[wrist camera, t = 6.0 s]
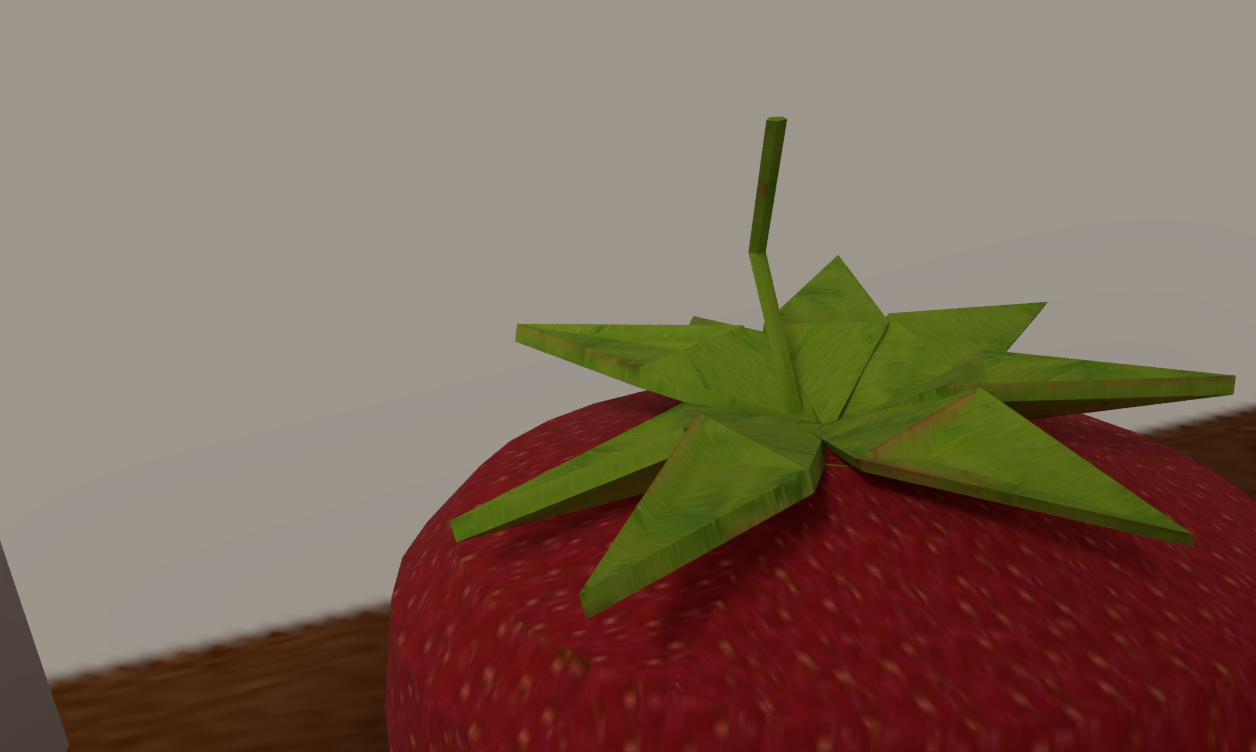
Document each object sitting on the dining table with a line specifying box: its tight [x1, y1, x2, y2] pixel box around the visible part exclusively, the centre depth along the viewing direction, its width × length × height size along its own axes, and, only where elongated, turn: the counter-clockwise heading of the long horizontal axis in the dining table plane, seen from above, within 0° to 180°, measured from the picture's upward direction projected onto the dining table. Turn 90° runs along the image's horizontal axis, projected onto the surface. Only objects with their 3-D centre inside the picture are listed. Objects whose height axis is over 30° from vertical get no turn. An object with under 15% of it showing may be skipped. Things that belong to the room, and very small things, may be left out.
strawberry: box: [385, 117, 1256, 752], centre depth 9 cm, size 6×8×10 cm
